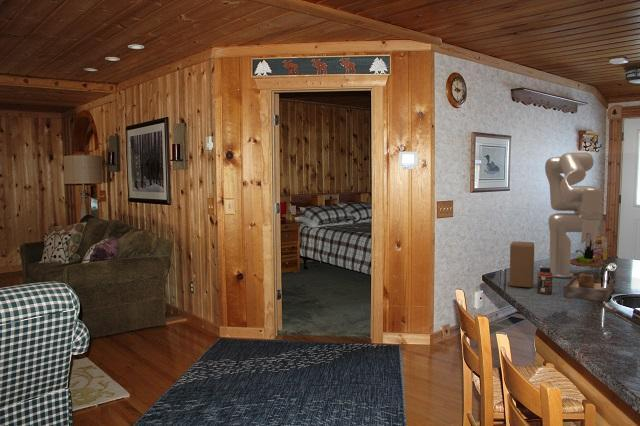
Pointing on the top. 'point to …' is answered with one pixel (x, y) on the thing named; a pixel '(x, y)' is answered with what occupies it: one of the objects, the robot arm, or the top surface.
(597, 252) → the candy box
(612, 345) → the top surface
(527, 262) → the wooden block
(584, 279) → the walnut block
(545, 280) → the supplement bottle
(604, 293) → the box
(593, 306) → the top surface
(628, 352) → the top surface
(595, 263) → the plant
